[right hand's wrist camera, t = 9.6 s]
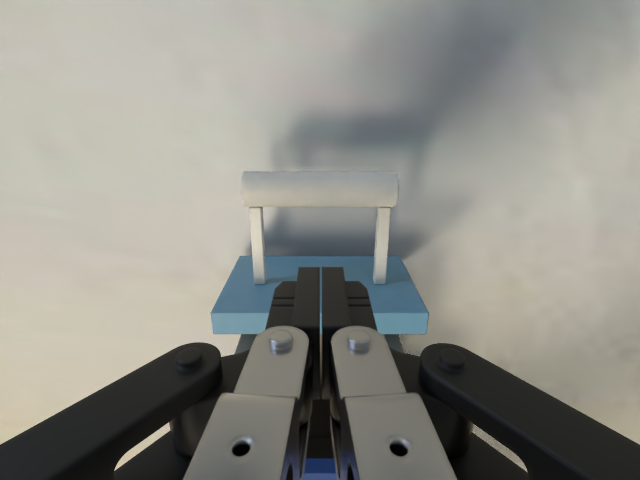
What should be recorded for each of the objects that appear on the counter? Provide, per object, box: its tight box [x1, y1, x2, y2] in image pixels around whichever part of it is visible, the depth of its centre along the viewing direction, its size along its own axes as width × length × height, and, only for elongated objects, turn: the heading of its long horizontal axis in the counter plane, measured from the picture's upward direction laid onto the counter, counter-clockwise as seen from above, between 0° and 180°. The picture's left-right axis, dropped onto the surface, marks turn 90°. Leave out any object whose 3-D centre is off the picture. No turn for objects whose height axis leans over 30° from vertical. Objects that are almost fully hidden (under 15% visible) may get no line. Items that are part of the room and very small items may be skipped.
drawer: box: [211, 171, 429, 458], centre depth 22 cm, size 21×10×7 cm, turn 0°
